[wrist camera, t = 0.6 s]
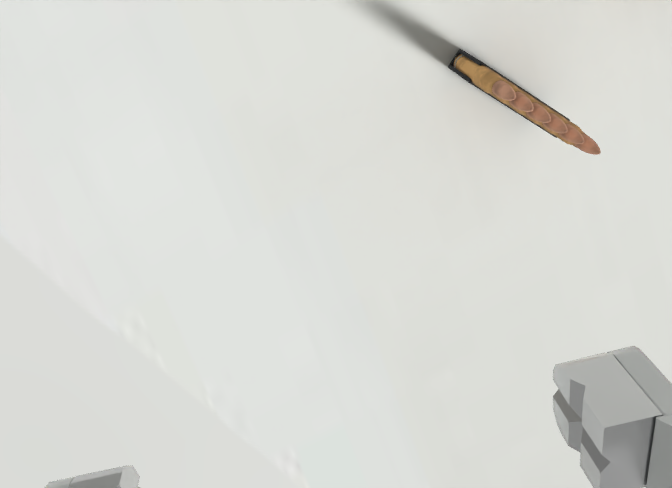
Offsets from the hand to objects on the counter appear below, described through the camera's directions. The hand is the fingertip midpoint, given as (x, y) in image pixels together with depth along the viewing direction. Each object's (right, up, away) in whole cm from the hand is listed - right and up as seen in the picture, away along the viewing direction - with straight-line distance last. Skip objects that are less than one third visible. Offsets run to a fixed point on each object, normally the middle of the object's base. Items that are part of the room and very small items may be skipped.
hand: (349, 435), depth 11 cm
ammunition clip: (+15, +18, +42) cm, 48 cm away
